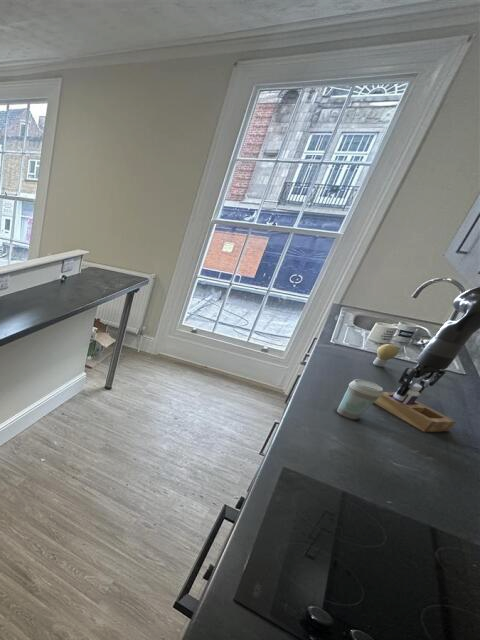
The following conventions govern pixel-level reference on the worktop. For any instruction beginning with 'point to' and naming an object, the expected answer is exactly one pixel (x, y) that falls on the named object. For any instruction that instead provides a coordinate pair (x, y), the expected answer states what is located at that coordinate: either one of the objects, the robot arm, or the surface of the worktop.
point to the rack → (415, 414)
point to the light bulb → (385, 354)
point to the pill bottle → (409, 395)
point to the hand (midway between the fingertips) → (406, 394)
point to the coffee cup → (359, 398)
